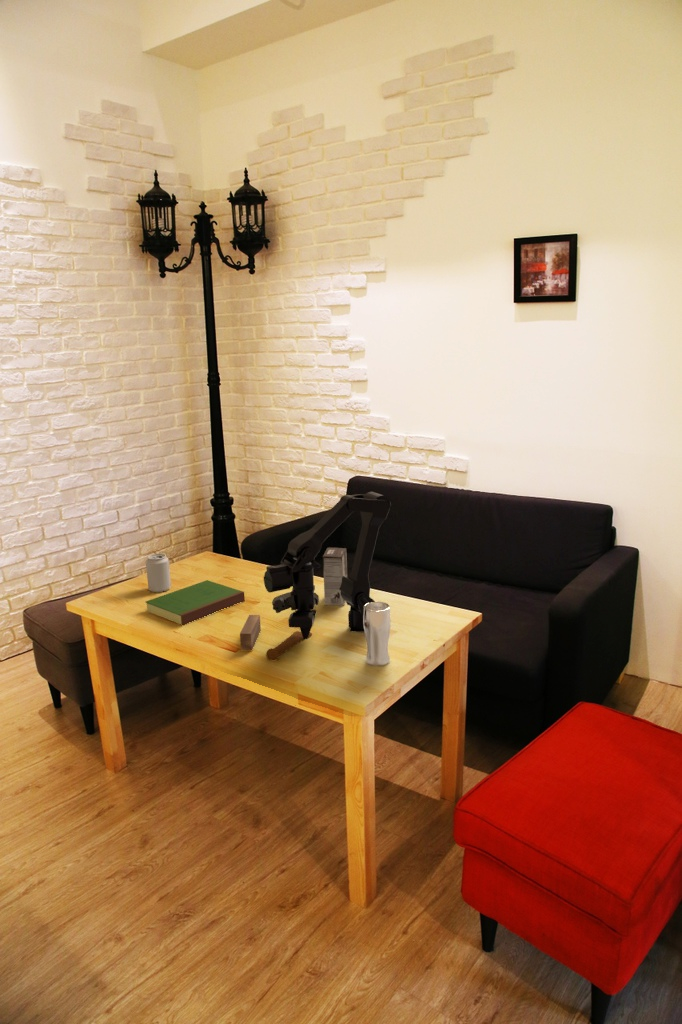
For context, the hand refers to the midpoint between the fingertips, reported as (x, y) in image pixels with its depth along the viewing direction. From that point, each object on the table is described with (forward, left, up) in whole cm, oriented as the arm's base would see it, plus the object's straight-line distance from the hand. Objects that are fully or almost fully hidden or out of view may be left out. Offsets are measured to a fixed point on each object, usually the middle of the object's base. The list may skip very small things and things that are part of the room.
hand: (305, 638), depth 194 cm
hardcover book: (+38, -28, -2) cm, 47 cm away
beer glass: (-20, +11, -1) cm, 23 cm away
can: (+55, -43, -1) cm, 70 cm away
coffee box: (-6, -32, -1) cm, 32 cm away
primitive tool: (+5, +2, -2) cm, 5 cm away
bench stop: (+15, -1, -1) cm, 16 cm away
